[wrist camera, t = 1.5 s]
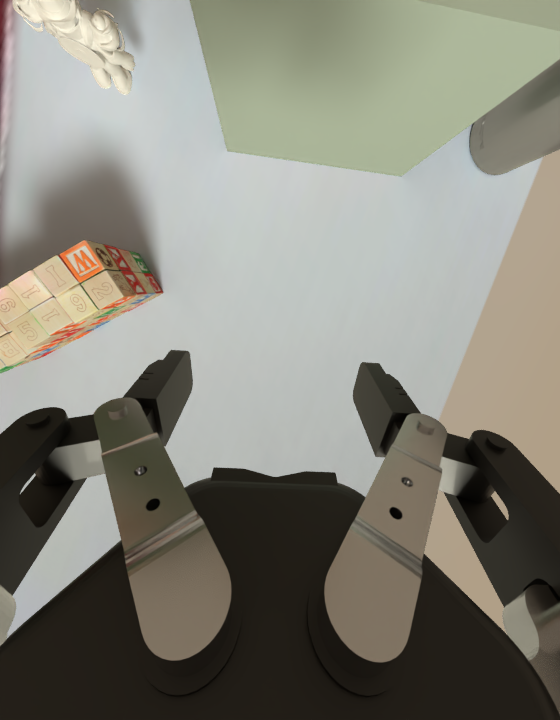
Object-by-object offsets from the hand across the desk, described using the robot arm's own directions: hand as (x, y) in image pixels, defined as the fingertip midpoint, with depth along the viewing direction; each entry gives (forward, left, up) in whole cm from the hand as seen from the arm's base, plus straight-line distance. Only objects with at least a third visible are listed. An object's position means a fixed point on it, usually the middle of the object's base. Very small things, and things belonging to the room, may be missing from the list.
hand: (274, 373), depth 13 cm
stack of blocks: (+25, -3, -30) cm, 39 cm away
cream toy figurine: (+15, -29, -30) cm, 44 cm away
